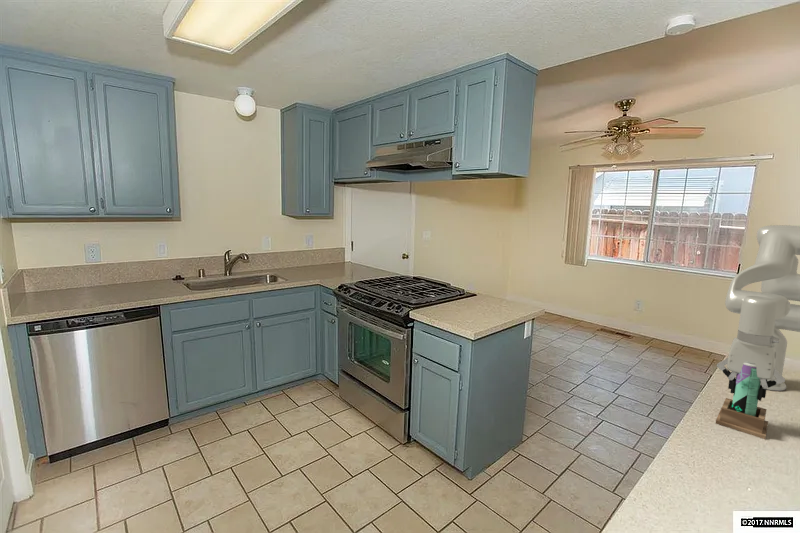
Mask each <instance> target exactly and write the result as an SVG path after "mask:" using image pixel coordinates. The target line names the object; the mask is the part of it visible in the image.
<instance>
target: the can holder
mask: <svg viewBox="0 0 800 533" xmlns="http://www.w3.org/2000/svg"><path fill="white" fill-rule="evenodd" d="M732 402H733V398H732V399H731V398H728V397H725V398H724V402H723V404H722V406H721V408H720V410H719V412H718V415H717V417H716V420H715V424H716V425H719V426H722V427H726V428H729V429H732V430H735V431H738V432H742V433H744V434H747V435H751V436H753V437H756V438H760V439H763V440H766V438H767V432H768V431H767V430H768V425H769V420H766V414H767V409H766V408H763V407H760V406H757V410H756V417H754V416H751V415H748V414H744V413H741V412H737V411H734V410H731V409H732Z"/></svg>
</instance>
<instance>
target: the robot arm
mask: <svg viewBox="0 0 800 533" xmlns="http://www.w3.org/2000/svg"><path fill="white" fill-rule="evenodd" d="M756 240H757V244H758V246H759V247H758V251H757V254H756V258H755V261H754V263H753V265H750V266H748V267H746V268H745V269H743V270H741V271H740V272H738V273H736V275H735V276H734V277H733V278H732V280H731V281H730V282H729V283H730V284H729V286H728V290H727V293H726V296H725V302H724V305H725V308H726V309H727V311H729V312H731V313H733V314H739V321H738V328H737V335H736V337H734V338H733V340H732V342H731V344H730V349H729V353H728V357H727V358H725V359H722V360H721V361H719V362H718V363H716V367H717V368H718V369H719V370H720V371H721V372H722V373H723V374H724V375H725V376H726V377H727V379H728V381H729V382H728V386H727V388H728V390H730V394H734V388H735V381H736V375H737V373H740V372H741V369H742V367H743V364H744V363H746V362H745V361H747V362H751V363H755V364H754V365H755V366H756V370H757V377H758V378H760V381H761V385H760V388H759V395H758V402H761V401H762V399H765V398H766V394H767V390H769V391H785V390H787V384H786V383H785V382H786V378H785V377H784V376H783V373H784V372H783V371H784V365H785V359H786V352H787V347H788V340H787V338H786V336H785V335H784V334H783V333H782V332H781V330H785V331H786V330H787V331H791V332H797V333H800V304H796V303H795V304H794V303H790V301H793V302H800V274H799V273H798V268H799V259H798V257H797V256H800V225H790V224H789V225H786V224H785V225H780V224H779V225H778V224H775V225H772V224H771V225H765V226H762V227H759V228H758V229H757V232H756ZM759 282H761V285H760V286H761V288H760V290H761V291H753V290H742V289H743V288H744V287H746V286H748V285H752V284H755V283H759Z"/></svg>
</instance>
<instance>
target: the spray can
mask: <svg viewBox="0 0 800 533" xmlns="http://www.w3.org/2000/svg"><path fill="white" fill-rule="evenodd" d="M745 362H746V363H744V364H743V367H742V369H741V372H740V373H737V375H736V376H735V377H736V381H735V388H734V393H733V396H732V400H733V402H732V409H731V410H734V411H737V412H741V413H744V414H748V415H751V416H754V417H756V410H757V407H758V402H759V400H758V395H759V388H760V385H761V381H760V378H758V377H757V370H756V366H755V365H754V364H755V363H751V362H747V361H745Z"/></svg>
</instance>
